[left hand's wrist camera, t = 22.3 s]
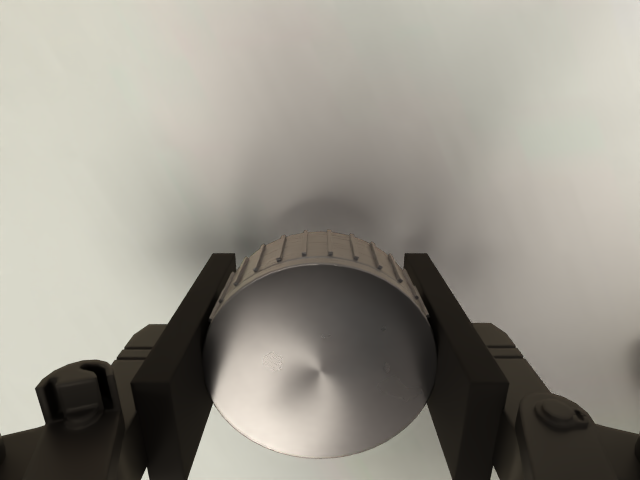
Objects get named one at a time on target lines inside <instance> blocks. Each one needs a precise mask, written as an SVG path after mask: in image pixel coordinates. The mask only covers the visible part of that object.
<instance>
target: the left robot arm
mask: <svg viewBox="0 0 640 480" xmlns="http://www.w3.org/2000/svg"><path fill="white" fill-rule="evenodd" d="M404 269H406V271H407V273H408V275H409V277H410V279H411V281H412V283H413V286H416V288H417V291H418V293H419V295H420V297H421V299H422V301H423V303H424V305H425V307H426V309H427V311H428V313H429V316H430V318H427V320H428V322H429V324H430V326H431V328H432V331H433V333H434V337H435V341H436V344H437V353H438V361H437V370H436V378H435V384H434V387H433V389H432V392H431V395H430V397H429V399H428V400H427V405H428V408H429V411H430V414H431V417H432V420H433V423H434V426H435V429H436V432H437V435H438V438H439V441H440V444H441V447H442V450H443V453H444V456H445V459H446V462H447V465H448V468H449V471H450V474H451V477H452V480H490V478H491V473H492V468H493V466H494V468H495V470H496V472H497V474H498V477H499V479H500V480H640V433H639V434H635V433H631V432H626V431H622V430H618V429H613V428H609V427H605V426H601V425H598V424H595V423H594V421H593V420H592V419H591V417H590V416H589V414H588V413H587V412H586V411H585V410H583V409H582V408H581V407H580V406H579V405H577V404H576V403H574V402H572V401H570V400H568V399H566V398H564V397H562V396H559V395H555V394H552V393H551V392H550V391H549V390H548V388H547V387H546V386H545V384H544V383H543V382H542V380H541V379H540V378H539V376H538V375H537V374H536V372H535V371H534V370H533V368H532V367H531V366H530V364H529V363H528V362H527V360H526V359H523V355H522V354H521V352H520V351H519V350H518V349H517V348H516V347H515V345H514V343H513V342H512V341H511V339H510V338H509V337H508V335H507V334H506V333H505V332H503V331H502V330H500V329H499V328H497V327H496V326H494V325H493V324H492V323H471V322H470V320H469V319H468V317H467V316H466V314H465V312H464V311H463V309H462V308H461V306H460V305H459V303H458V301H457V300H456V298H455V297H454V295H453V294H452V292H451V290H450V289H449V287H448V286H447V284H446V283H445V281H444V280H443V278H442V276H441V275H440V273H439V272H438V270H437V269H436V267H435V265H434V264H433V262H432V261H431V259H430V258H429V256H428V254H427V253H405V257H404ZM232 272H234V273H235V272H236V261H235V253H213V254H212V256H211V257H210V259H209V260H208V262H207V263H206V265H205V267H204V268H203V270H202V271H201V273H200V274H199V276H198V278H197V279H196V281H195V282H194V284H193V285H192V287H191V288H190V290H189V292H188V293H187V295H186V296H185V298H184V299H183V301H182V303H181V304H180V306H179V307H178V309H177V310H176V312H175V314H174V315H173V317H172V318H171V320H170V321H169V323H168V324H149V325H147V326H146V327H144V328H143V329H142V330H140V331H139V332H137V333H136V334H134V335H133V337H132V338H131V339H130V341H129V342H128V343H127V345H126V346H125V349H124V350H122V351H121V353H120V354H119V355H118V357H117V360H115V361H114V362H113V363H112V365H110V364H109V363H107V362H105V361H100V360H83V361H79V362H75V363H71V364H68V365H66V366H64V367H61V368H59V369H57V370H55V371H53V372H52V373H50V374H49V375H48V376H46V377H45V378H43V379H42V380H41V382H40V383H39V384H38V385H37V387H36V388H35V390H36V393H37V397H38V400H39V403H40V406H41V410H42V413H43V416H44V420H45V423H46V424H45V426H41V427H38V428H34V429H30V430H26V431H21V432H17V433H13V434H8V435H4V436H1V434H0V480H141V478H142V476H143V474H144V471H145V469H146V467H147V469H148V474H149V479H150V480H187V479H188V476H189V473H190V470H191V467H192V464H193V461H194V458H195V455H196V452H197V449H198V446H199V443H200V440H201V437H202V434H203V431H204V428H205V425H206V422H207V419H208V416H209V414H210V411H211V408H212V405H213V401H212V399H211V398H210V396H209V393H208V391H207V388H206V385H205V381H204V373H203V365H202V350H203V343H204V339H205V336H206V332H207V330H208V328H209V325H210V323H211V322H208V320H209V317H210V315H211V313H212V311H213V309H214V307H215V305H216V303H217V301H218V298H219V296H220V294H221V292H222V290H223V289H224V287H225V285H226V283H227V281H228V279H229V277H230V275H231V273H232Z"/></svg>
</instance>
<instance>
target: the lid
mask: <svg viewBox="0 0 640 480" xmlns="http://www.w3.org/2000/svg"><path fill="white" fill-rule="evenodd" d="M427 318H430V316H429V313H428V311H427V309H426V307H425V305H424V303H423V301H422V299H421V297H420V295H419V293H418V291H417V288H416V286H413V283H412V281H411V279H410V277H409V275H408V273H407V271H406V269H403V270H402V269H401V268H400V267H399V265H398V264H397V263H396V262H395V260H394V258H393V256H392V255H391V254H389V255H387V254H386V253H385V252H383V251H382V250H380V249H379V248H377V247H376V246H375V243H373V242H371V243H368V242H366V241H364V240H361V239H358V238H355V237H354V234H350V235H345V234H340V233H334V232H331V230H327V232H308V230H304V233H300V234H295V235H291V236H287V237H286V236H285V235H283V236H281V239H278V240H276V241H274V242H272V243H270V244H268V245H265V244H263V245H261V247H260V250H258V251H256V252H255V253H254V254H253V255H251V256H250V257H249V258H248V257H247V256H246V257H245V258H244V260H243V262H242V264H241V266H240V267H239V268H238V269H237V271H236V272H235V273H234V272H232V273H231V275H230V277H229V279H228V281H227V283H226V285H225V287H224V289H223V290H222V292H221V294H220V296H219V298H218V301H217V303H216V305H215V307H214V309H213V311H212V313H211V315H210V317H209V320H208V322H211V323H210V325H209V328H208V330H207V332H206V336H205V339H204V343H203V350H202V365H203V373H204V381H205V385H206V388H207V391H208V393H209V396H210V398H211V399H212V401H213V403H214V405H215V407H216V408H217V409H218V411H219V412H220V414H221V415H222V416H223V417H224V418H225V419H226V421H227V422H228V423H229V424H230V425H231V426H232V427H234V428H235V429H236V430H237V431H238V432H240V433H241V434H242V435H244V436H245V437H247V438H248V439H250V440H251V441H253V442H255V443H257V444H259V445H261V446H263V447H265V448H268V449H270V450H273V451H276V452H279V453H283V454H286V455H290V456H296V457H303V458H317V459H322V458H337V457H343V456H349V455H353V454H357V453H361V452H364V451H366V450H369V449H372V448H374V447H376V446H378V445H380V444H383V443H385V442H386V441H388V440H390V439H391V438H393V437H394V436H396V435H397V434H399V433H400V432H401V431H402V430H404V429H405V428H406V427H407V426H408V425H409V424H410V423H411V422H412V421H413V420H414V419H415V418H416V417H417V416H418V414H419V413H420V412H421V410H422V409H423V407H424V406H425V404H426V402H427V400H428V399H429V397H430V395H431V392H432V389H433V387H434V384H435V378H436V370H437V361H438V353H437V344H436V341H435V337H434V333H433V331H432V328H431V326H430V324H429V322H428V320H427Z"/></svg>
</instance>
